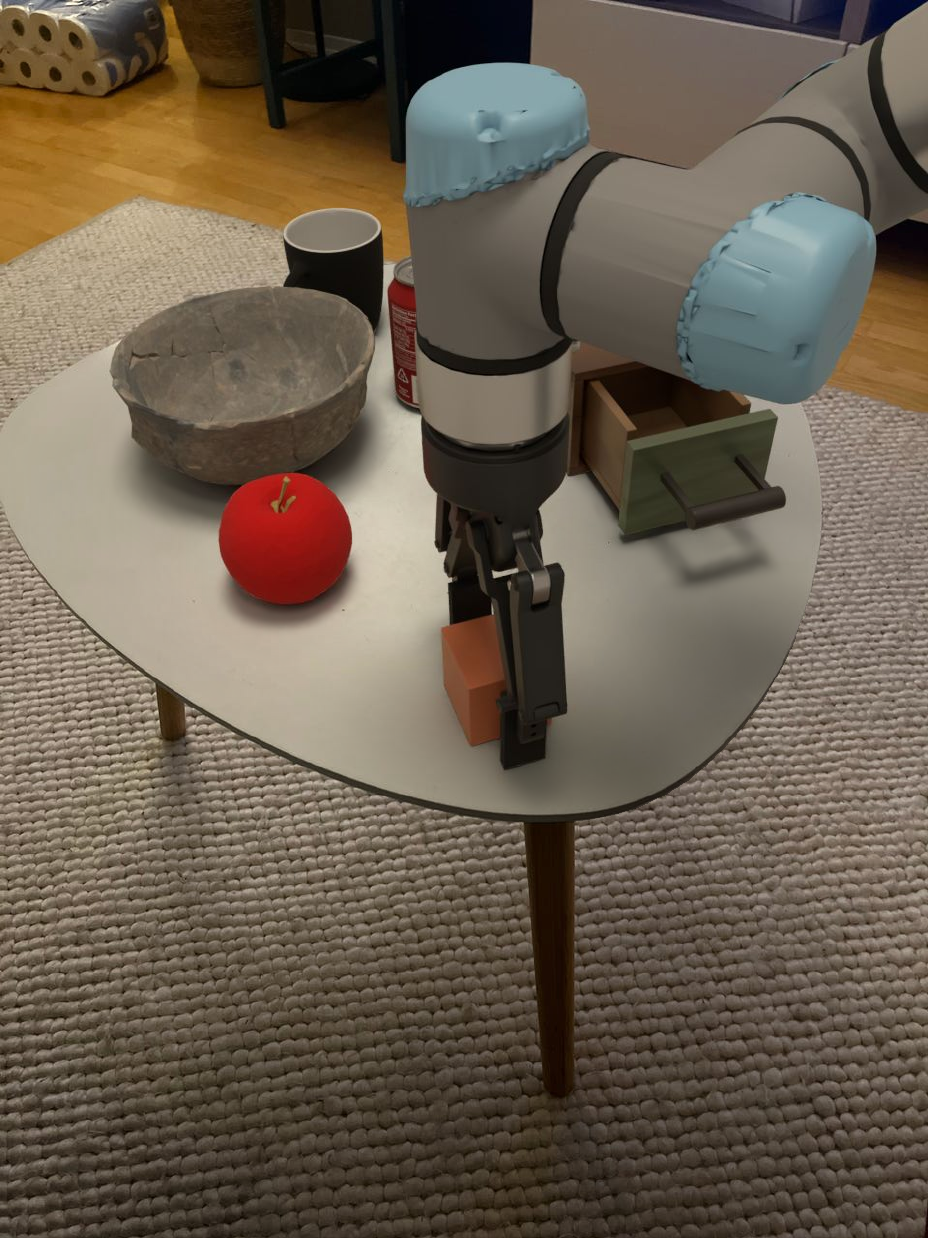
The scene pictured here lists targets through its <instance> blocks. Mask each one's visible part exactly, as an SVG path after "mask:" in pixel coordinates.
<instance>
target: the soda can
mask: <svg viewBox="0 0 928 1238" xmlns="http://www.w3.org/2000/svg"><path fill="white" fill-rule="evenodd" d="M392 273H393V277H392V279H391V280H390V282H389V283H388V286H387V290H386V291H387V293H386V294H387V305H388V306H387V307H388V317H389V330H390V341H391V355H392V367H393V381H394V391H395V394H396V396H397V398H398V399H399V400H400V401H401V402H403V403H404V404H406V405H408V406H410V407H412V408H416V409H420V407H419V402H418V387H417V369H416V351H415V331H416V323H415V317H416V316H417V311H416V299H415V289H414V279H413V269H412V260H411V254H410V255H408V256H405V257H403V258H401V259H400V260H398V261H397V262H396V263H395V264H394V266H393V271H392Z"/></svg>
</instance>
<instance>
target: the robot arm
mask: <svg viewBox="0 0 928 1238" xmlns="http://www.w3.org/2000/svg"><path fill="white" fill-rule="evenodd" d="M588 117H589V114H588V102H587V97H586V95H585V93H584V91H583V88H582V87H581V86H580V84H578V83H577V82H576V81H575V80H573V79H572V77H567V76H566V77H565V76H563V75H562V74H561V73H559V72H558V71H557V70H556V69H553V68H549V67H547V66H546V67H545V66H542V65H537V64H529V63H520V62H491V63H480V64H479V63H478V64H472V65H467V66H463V67H459V68H454V69H451V70H448V71H447V72H446V71H445V72H444V73H442V74H441V75H439V76H436V77H435V78H433V79H430V80H428V81H427V82H426V83H424V84H423V85H422V86H421V87H420V88H419V89H417V91H416V92H415V94H414V95H413V96H412V98H411V100H410V103H409V105H408V107H407V112H406V116H405V188H404V190H403V197H402V198H403V202H404V205H405V209H406V221H407V228H408V239H409V247H410V248H409V249H410V255H411V260H412V269H413V279H414V289H415V299H416V311H417V316H416V317H415V323H416V331H415V351H416V369H417V387H418V402H419V407H420V408H419V412H420V414H421V418H420V431H421V432H420V433H421V447H422V464H423V465H422V466H423V473H424V476H425V479H426V481H427V483H428V485H429V486H430V488H431V489H432V490H433V492H435V494H436V502H435V503H436V504H435V505H436V506H435V528H434V541H433V542H434V547H435V548H436V549H437V552H438V553H439V554H442V553H445V552H446V553H445V557H444V559H443V571H444V573H445V574H446V576H447V578H448V579H451V581H449V582H447V595H448V617H449V625H453V624H457V623H461V622H465V621H469V620H473V619H476V618H480V617H484V616H488V615H492V614H494V618H495V624H496V630H497V636H498V642H499V648H500V654H501V660H502V666H503V672H504V678H505V684H506V690H504V691H500V698H497V699H495V701H496V705H497V708H498V710H499V712H500V738H499V762H500V763H501V765H502V768H503V769H504V770H505V771H506V770H508V769H512V768H515V767H519V766H522V765H526V764H530V763H533V762H536V761H539V760H544V759H546V752H547V751H546V750H547V731H548V729H547V728H548V725H547V719H550V718H552V719H553V718H557V717H560V716H564V715H567V714H568V695H567V677H566V658H565V639H564V624H563V622H564V621H563V596H564V589H565V582H566V581H565V580H566V579H565V577H566V575H565V570H564V569H563V566H562V564H560V562H558V561H557V562H553V563H549V564H544V558H543V550H542V543H541V542H542V541H541V540H542V538H543V536H544V528H543V527H544V525H543V520H542V515H541V514H542V513H541V511H540V508H541V507H542V506H543V504H545V502H546V501H547V500H548V499H550V498H551V496H553V495H554V493H556V491H558V489H559V488H560V487H561V485H562V483H564V480H565V477H566V475H567V472H566V471H567V462H568V443H569V425H570V419H569V414H568V409H569V403H570V389H571V372H572V354H574V353H576V352H577V351H578V350H579V346H580V341H581V342H584V343H587V344H589V345H592V346H595V347H598V348H601V349H603V350H606V351H609V352H612V353H615V354H617V355H620V356H623V357H626V358H629V359H631V360H634V361H637V362H640V363H643V364H645V365H648V366H651V367H654V368H657V369H659V370H662V371H665V372H668V373H671V374H673V375H676V376H679V377H682V378H685V379H687V380H690V381H692V382H693V383H695V384H699V385H700V386H701V387H703V388H706V389H712V390H715V391H718V392H719V391H721V390H727V391H731V392H735V393H739V394H743V395H744V396H748V397H751V398H756V399H759V400H761V401H762V400H763V401H767V402H771V403H775V404H779V405H793V404H799V403H802V402H804V401H806V400H808V399H810V398H812V397H813V396H814V395H816V394H817V393H818V392H819V391H820V390H821V389H822V388H823V387H825V385H826V383H827V382H828V381H829V379H830V378H831V377H832V375H833V373H834V371H835V370H836V367H837V365H838V363H839V360H840V358H841V356H842V354H843V352H844V351H846V350H847V348H848V346H849V344H850V342H851V340H852V337H853V335H854V333H855V331H856V328H857V326H858V322H859V321H860V317H861V315H862V312H863V309H864V307H865V303H866V301H867V297H868V294H869V290H870V288H871V287H870V286H871V283H872V279H873V274H874V270H875V264H876V257H877V239H876V236H878V235H879V234H881V233H882V232H884V231H885V230H887V229H890V228H891V227H894V226H895V225H897V224H900V223H902V222H904V221H905V220H908V219H910V218H912V217H914V216H916V215H917V214H920V213H922V212H924V211H926V210H928V1H926V2H924V3H922V5H920V6H919V7H917V8H916V9H914V10H912V11H911V12H909V13H908V14H906V15H905V16H903V17H902V18H900V19H899V20H897V21H896V22H894V23H893V24H892V25H891V26H890V28H888V29H886V30H885V31H883V32H882V33H880V34H879V35H876V36H875V37H873V38H871V39H870V40H869V39H868V40H867V41H865V42H864V43H862V44H861V45H859V46H857V47H856V48H854V49H853V50H852V51H850V52H849V53H847V54H846V55H844V56H843V57H841V58H839V59H836V60H831V61H829V62H826V63H824V64H823V65H820V66H819V67H817V68H816V69H815V70H813V71H811V72H810V73H807V74H806V75H805V76H804V77H803V78H801V79H800V80H799V81H798V82H796V83H795V84H793V85H791V86H790V87H789V88H788V89H787V90H785V92H783V93H782V94H781V96H780V97H779V99H778V100H777V102H775V103H774V104H773V105H772V106H771V107H769V108H768V109H767V110H766V111H764V112H763V113H762V114H760V116H758V117H757V118H756V119H755V120H753V122H751V123H750V124H748V126H746V127H744V128H742V129H741V130H739V131H738V132H737V133H735V135H733V136H732V137H731V138H730V139H728V140H727V141H726V142H725V143H724V144H722V145H721V146H720V147H719V148H717V149H716V150H714V151H713V152H712V153H711V154H709V155H708V156H707V157H705V158H704V159H703V160H702V161H700V162H699V163H698V164H697V165H695V166H694V167H693V168H691V169H689V168H688V169H687V168H685V169H684V168H680V167H674V166H669V165H666V164H665V165H664V164H660V163H655V162H652V161H647V160H642V159H639V158H633V157H630V156H626V155H623V154H619V153H616V152H615V151H611V150H607V149H603V148H598V147H596V146H594V145H592V144H590V140H591V137H590V131H591V127H590V125H589V118H588ZM514 569H517V572H513V573H508V574H505V575H501V576H498V577H494V574H493V572H496V573H503V572H506V571H509V570H514Z"/></svg>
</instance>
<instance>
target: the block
mask: <svg viewBox="0 0 928 1238" xmlns="http://www.w3.org/2000/svg"><path fill="white" fill-rule="evenodd" d="M440 635H441V636H440V638H441V655H442V656H441V657H442V670H443V671H442V672H443V686H444V688H445V691H446V692H447V696H448V697H449V700H450V702H451V704H452V707H453V709H454V711H455V714H456V717H457V718H458V721H459V723H460V725H461V728H462V730H463V732H464V734H465V737H466V739H467V741H468V744H469V746H470V747H473V746H476V745H477V746H478V745H479V744H483V743H487V742H491V741H495V740H498V739H500V712H499V710H498V708H497V705H496V701H495V699H497V698H500V691H504V690H506V684H505V678H504V672H503V666H502V660H501V654H500V648H499V642H498V636H497V630H496V624H495V618H494V613H492V615H488V616H484V617H480V618H476V619H473V620H469V621H465V622H461V623H457V624H453V625H450V624H449V625H446V626H442V627H440ZM552 719H553V718H550V719H547V726H548V725H551V724H552V721H553V720H552Z"/></svg>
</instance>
